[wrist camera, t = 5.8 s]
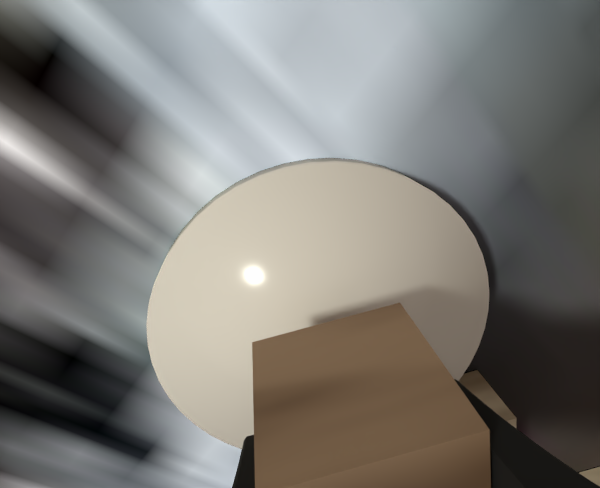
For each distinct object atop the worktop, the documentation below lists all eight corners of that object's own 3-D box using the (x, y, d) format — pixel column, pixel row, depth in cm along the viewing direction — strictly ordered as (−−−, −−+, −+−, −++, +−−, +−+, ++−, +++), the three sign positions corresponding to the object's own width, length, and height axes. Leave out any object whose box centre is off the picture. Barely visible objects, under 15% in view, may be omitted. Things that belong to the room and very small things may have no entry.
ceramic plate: (478, 393, 20) (492, 411, 18) (215, 466, 19) (213, 490, 18) (466, 116, 14) (485, 119, 13) (93, 212, 14) (80, 223, 12)
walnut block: (414, 410, 14) (492, 561, 10) (288, 445, 14) (307, 615, 10) (399, 302, 12) (489, 429, 8) (252, 342, 12) (255, 496, 8)
